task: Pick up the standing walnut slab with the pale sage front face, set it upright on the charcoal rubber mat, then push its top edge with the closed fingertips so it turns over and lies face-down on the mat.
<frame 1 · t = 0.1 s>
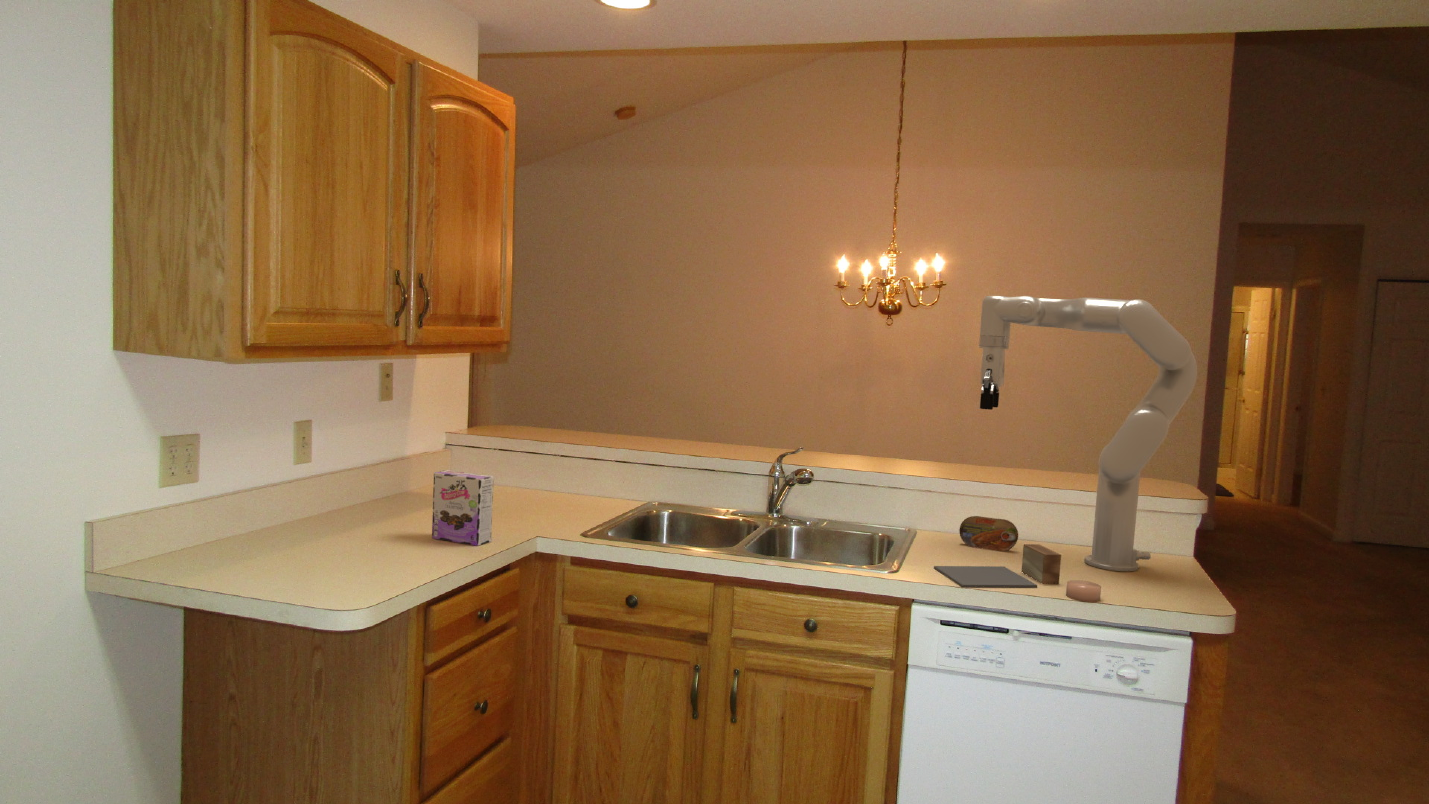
hand: (989, 408, 244), 37 cm above the counter, tool pointing down, fingers open, 9 cm apart
tin: (987, 549, 246), on the counter
mat: (983, 577, 215), on the counter
pink round puck: (1082, 598, 203), on the counter
candy box: (461, 541, 226), on the counter
slab: (1039, 578, 218), on the counter
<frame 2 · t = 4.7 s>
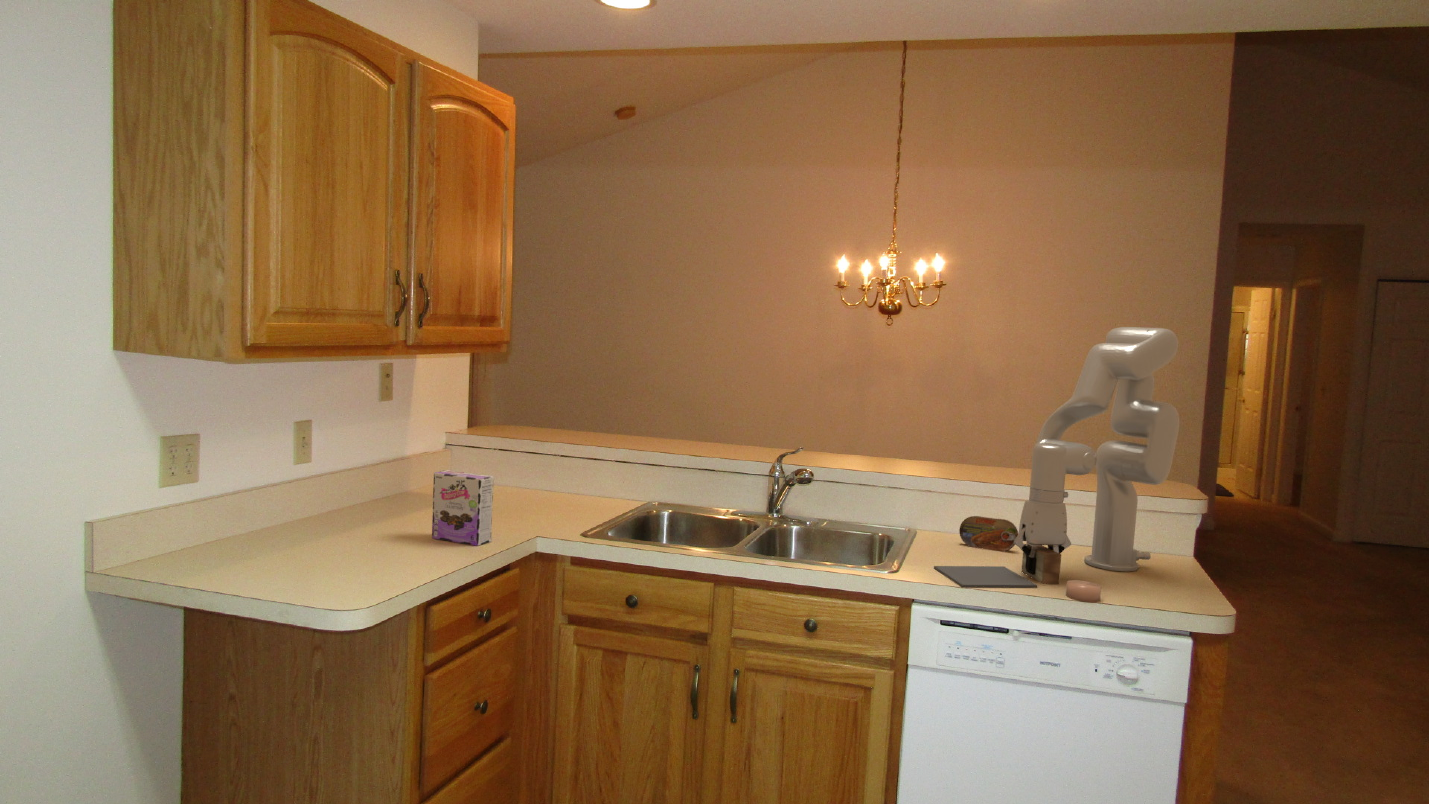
hand: (1040, 572, 218), 1 cm above the counter, tool pointing down, fingers closed on slab, 4 cm apart
slab: (1039, 578, 218), on the counter, touching gripper
everything else where it was.
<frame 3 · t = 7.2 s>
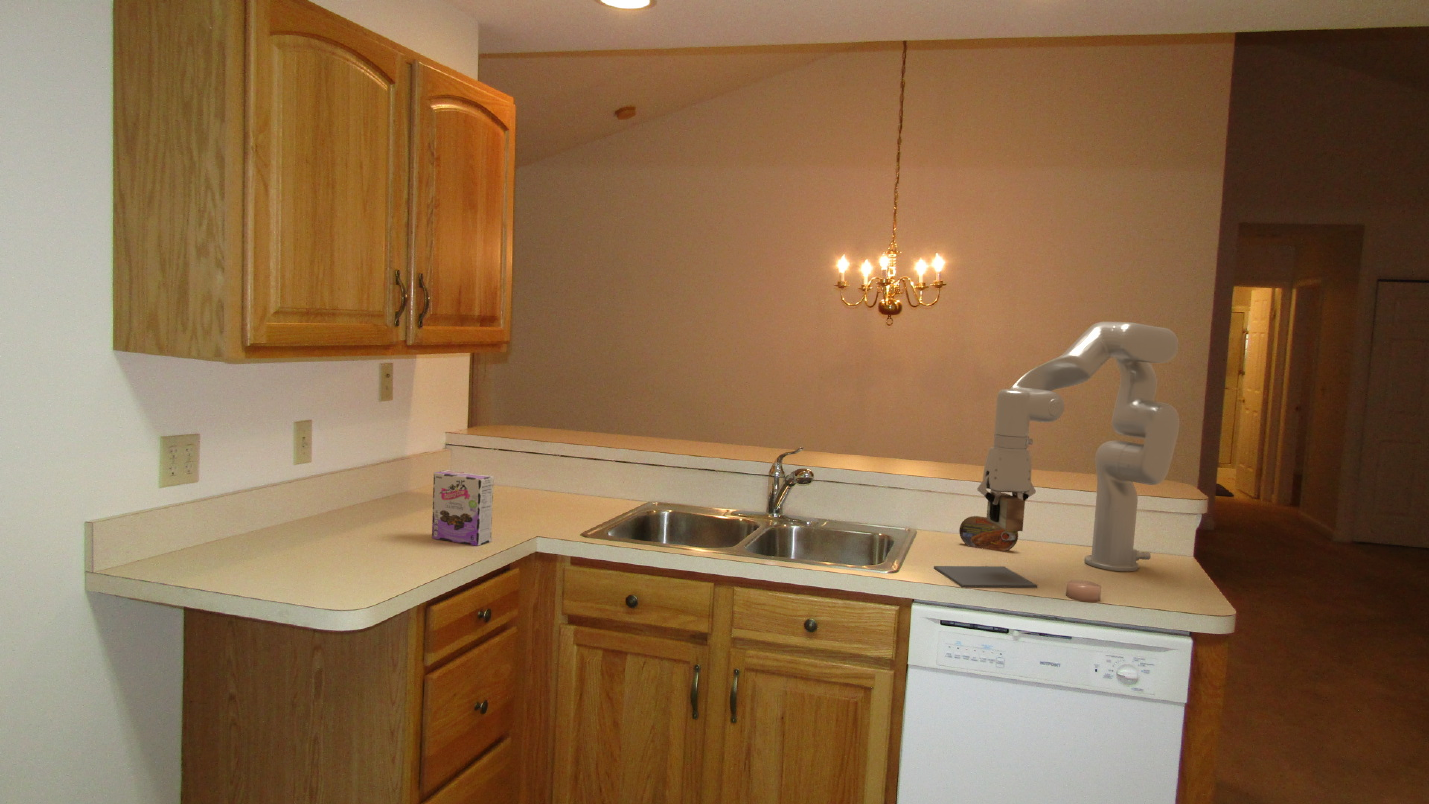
hand: (1004, 520, 215), 14 cm above the counter, tool pointing down, fingers closed on slab, 4 cm apart
slab: (1003, 526, 215), point 12 cm above the counter, touching gripper
everything else where it was.
when the fingers open (3 cm above the counter, at t = 9.7 s): slab drops 1 cm, resting on mat.
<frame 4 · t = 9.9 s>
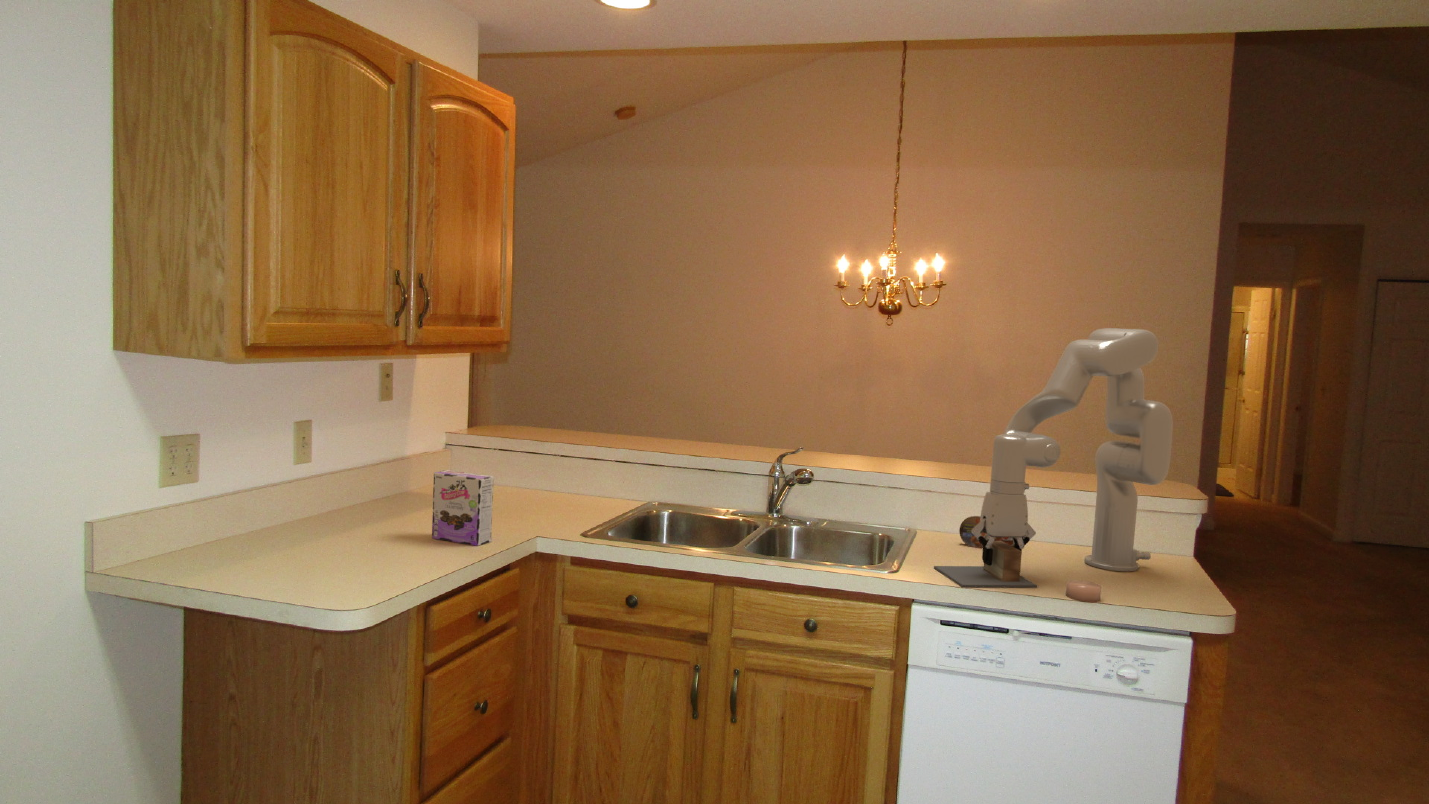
hand: (1001, 563, 216), 3 cm above the counter, tool pointing down, fingers open, 6 cm apart
slab: (1001, 575, 216), point 1 cm above the counter, touching mat
everything else where it was.
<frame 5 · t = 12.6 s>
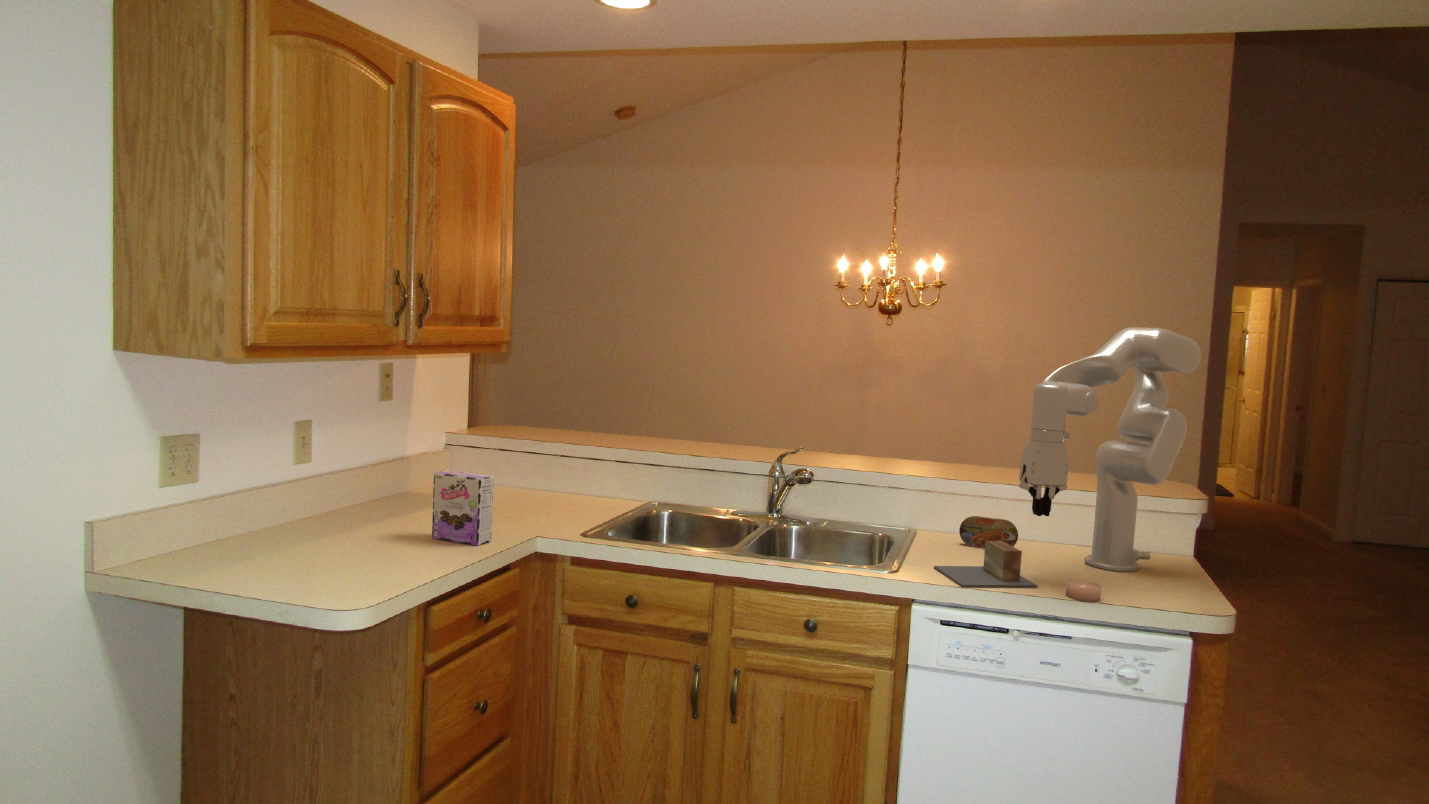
hand: (1040, 514, 216), 15 cm above the counter, tool pointing down, fingers closed
nothing on the counter moved.
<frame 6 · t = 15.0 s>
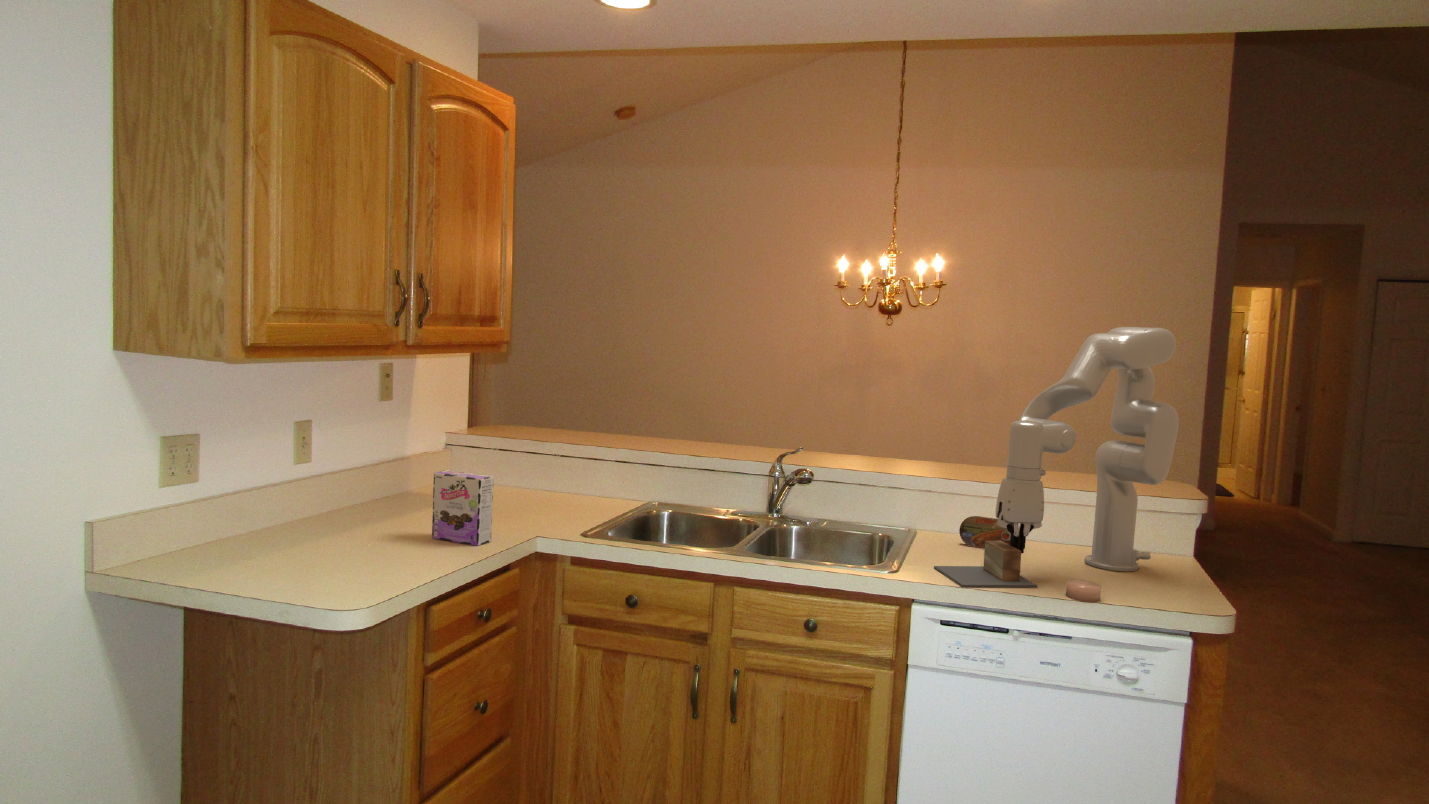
hand: (1017, 551, 216), 6 cm above the counter, tool pointing down, fingers closed
slab: (1001, 575, 216), point 1 cm above the counter, touching gripper, mat
everything else where it was.
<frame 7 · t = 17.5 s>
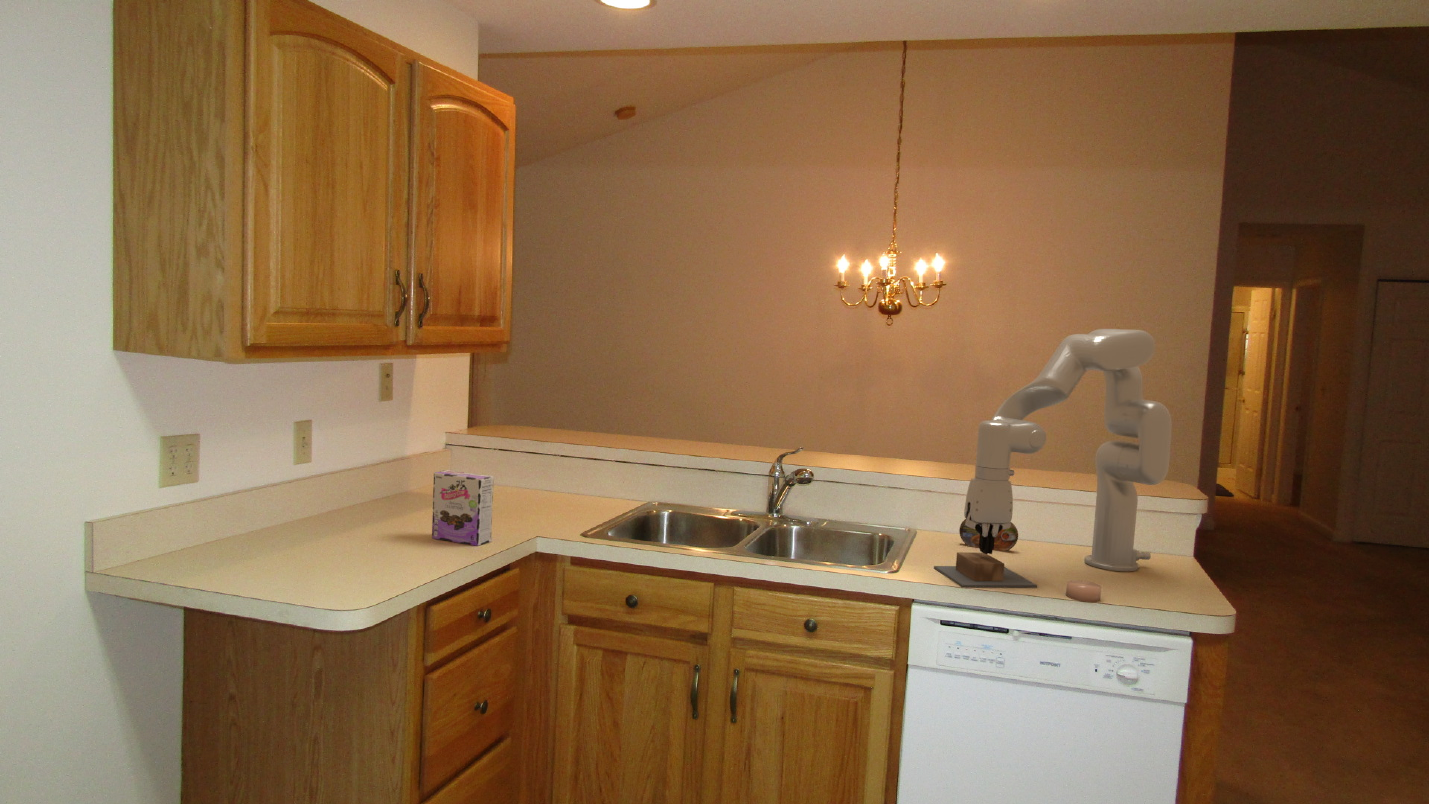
hand: (985, 552, 215), 6 cm above the counter, tool pointing down, fingers closed
slab: (993, 566, 216), point 3 cm above the counter, tilted 90°, touching mat
everything else where it was.
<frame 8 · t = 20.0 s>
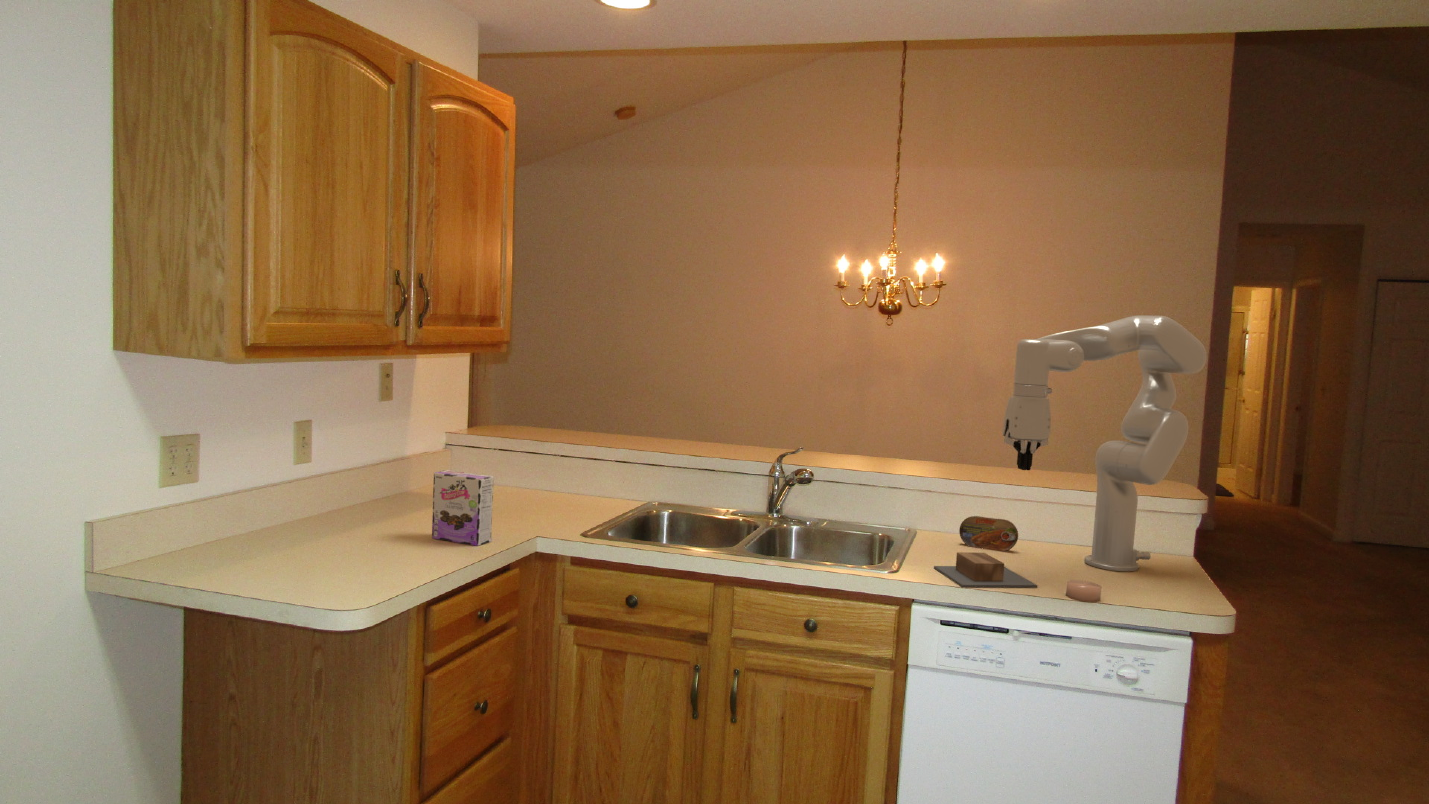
hand: (1023, 469, 219), 25 cm above the counter, tool pointing down, fingers closed
nothing on the counter moved.
at the end: slab tilted 90°; slab inside the target area on the mat (2.7 cm from its centre), point 2.7 cm above the mat's base; the gripper is holding nothing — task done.
